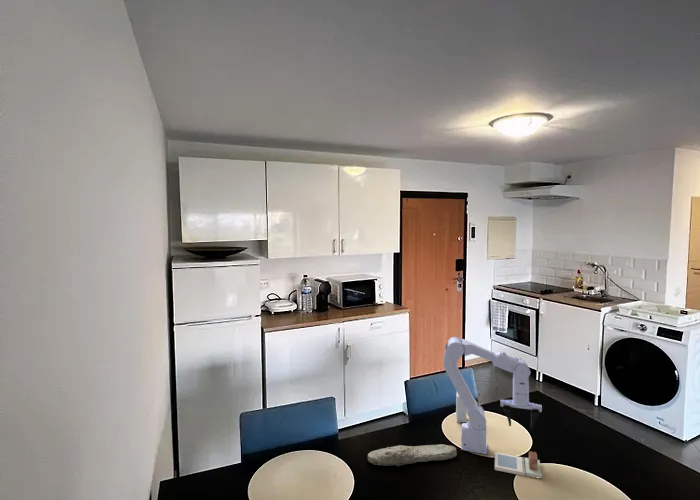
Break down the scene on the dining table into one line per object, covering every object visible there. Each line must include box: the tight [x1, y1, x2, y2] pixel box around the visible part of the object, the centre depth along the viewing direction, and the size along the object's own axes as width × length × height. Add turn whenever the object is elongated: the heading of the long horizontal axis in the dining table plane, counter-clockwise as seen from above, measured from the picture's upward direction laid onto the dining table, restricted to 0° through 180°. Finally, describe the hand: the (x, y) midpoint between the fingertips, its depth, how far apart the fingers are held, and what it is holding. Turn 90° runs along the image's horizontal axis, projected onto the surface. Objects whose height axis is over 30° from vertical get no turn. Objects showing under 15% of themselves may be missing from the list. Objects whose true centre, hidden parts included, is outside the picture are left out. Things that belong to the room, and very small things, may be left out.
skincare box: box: [455, 391, 467, 423], centre depth 179 cm, size 6×4×12 cm
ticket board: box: [494, 451, 526, 476], centre depth 144 cm, size 10×10×1 cm
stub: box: [524, 450, 543, 479], centre depth 142 cm, size 5×10×5 cm, turn 159°
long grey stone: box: [367, 443, 458, 467], centre depth 149 cm, size 35×5×10 cm
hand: (520, 426), depth 152 cm, fingers open, 7 cm apart
